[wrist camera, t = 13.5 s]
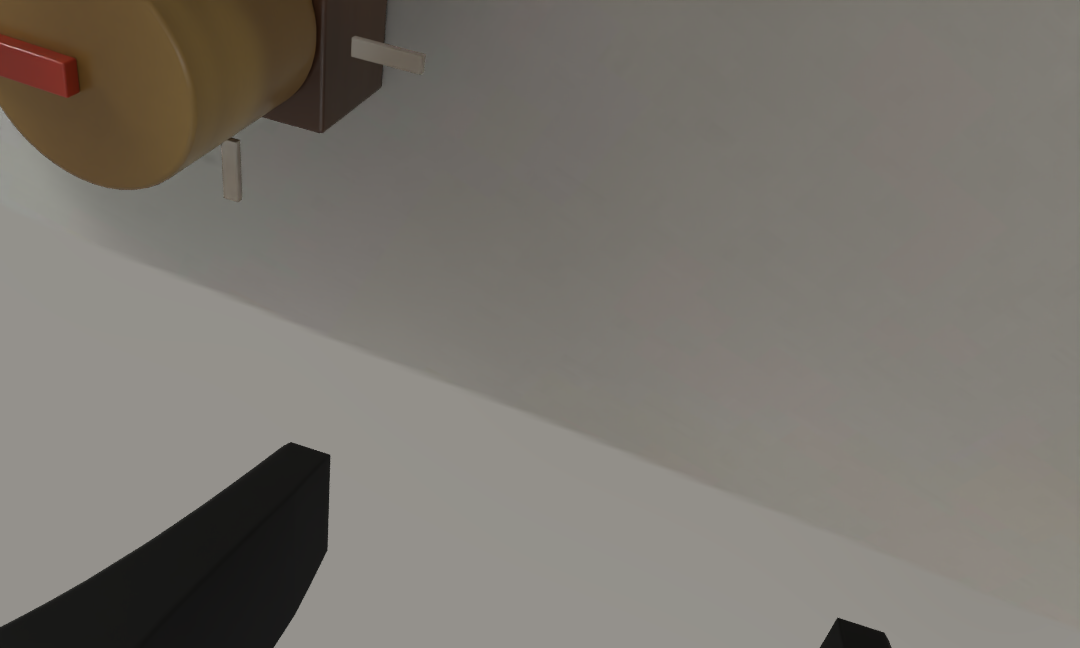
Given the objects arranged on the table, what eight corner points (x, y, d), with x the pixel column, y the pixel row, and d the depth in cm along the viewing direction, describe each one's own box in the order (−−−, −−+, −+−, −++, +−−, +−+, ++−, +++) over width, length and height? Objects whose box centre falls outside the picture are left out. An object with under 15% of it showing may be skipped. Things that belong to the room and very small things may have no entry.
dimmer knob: (325, -66, 15) (179, -10, 12) (312, 133, 17) (186, 230, 14) (128, -126, 16) (-71, -88, 12) (140, 77, 18) (-24, 157, 14)
